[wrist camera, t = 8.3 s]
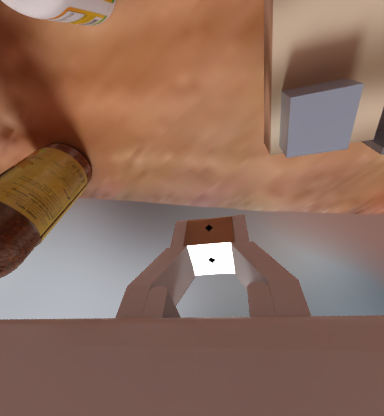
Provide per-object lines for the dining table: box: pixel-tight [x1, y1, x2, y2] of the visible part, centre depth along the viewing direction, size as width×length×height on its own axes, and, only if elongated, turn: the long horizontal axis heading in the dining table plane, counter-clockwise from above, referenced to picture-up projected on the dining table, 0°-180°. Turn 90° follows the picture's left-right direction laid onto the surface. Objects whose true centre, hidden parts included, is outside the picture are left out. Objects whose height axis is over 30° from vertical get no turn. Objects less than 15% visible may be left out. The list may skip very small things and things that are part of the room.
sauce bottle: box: [0, 143, 92, 278], centre depth 18 cm, size 7×6×20 cm
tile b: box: [279, 78, 364, 158], centre depth 16 cm, size 4×4×2 cm
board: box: [264, 0, 384, 155], centre depth 17 cm, size 12×8×3 cm
